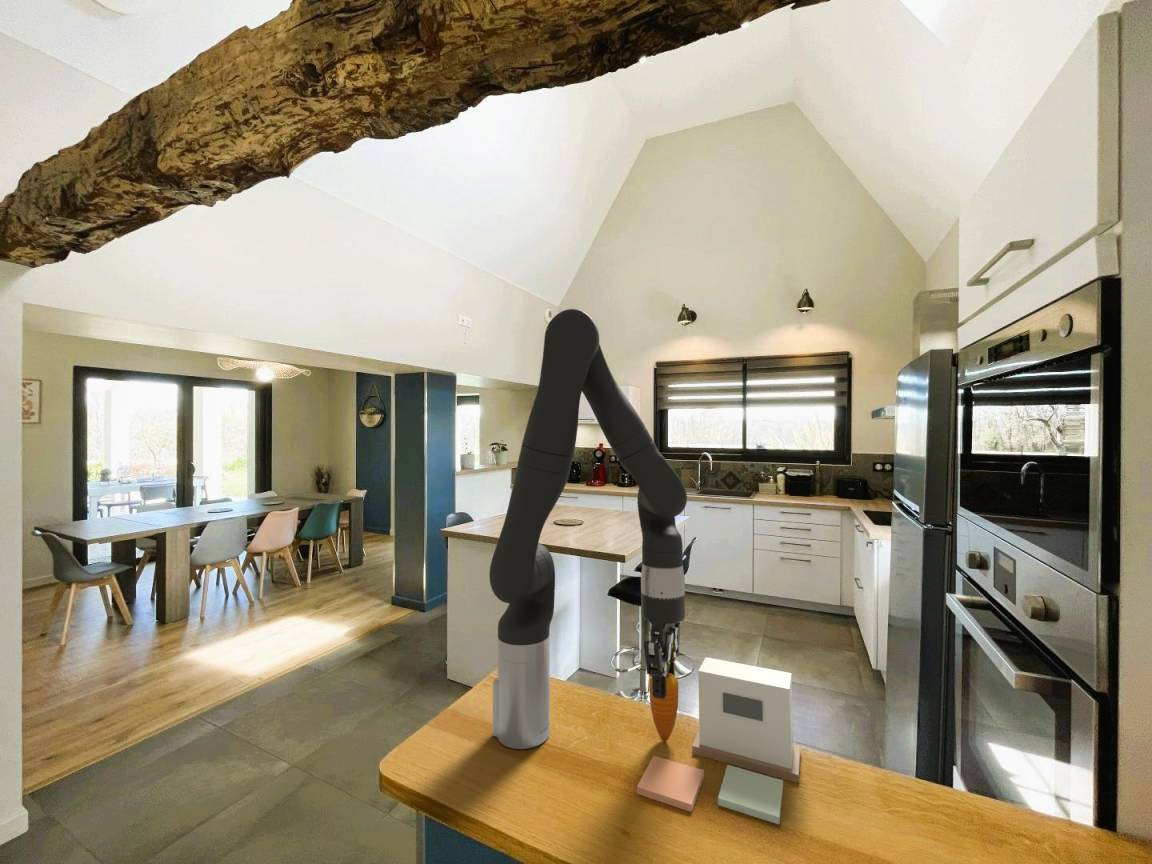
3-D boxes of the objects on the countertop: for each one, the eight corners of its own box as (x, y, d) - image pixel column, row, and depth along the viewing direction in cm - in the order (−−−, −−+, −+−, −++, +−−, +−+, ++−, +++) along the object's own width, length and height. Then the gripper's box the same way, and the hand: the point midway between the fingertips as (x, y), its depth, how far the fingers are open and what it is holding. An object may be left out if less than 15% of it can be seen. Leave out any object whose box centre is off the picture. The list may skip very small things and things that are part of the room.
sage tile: (717, 805, 67) (717, 797, 67) (727, 771, 74) (727, 764, 74) (779, 824, 64) (779, 817, 64) (783, 787, 71) (783, 780, 71)
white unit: (692, 753, 79) (691, 672, 79) (702, 728, 86) (701, 653, 87) (798, 783, 72) (796, 693, 72) (800, 753, 79) (798, 671, 79)
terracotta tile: (637, 793, 70) (636, 786, 70) (653, 762, 77) (653, 755, 77) (691, 812, 66) (691, 804, 66) (704, 777, 73) (704, 770, 73)
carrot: (679, 752, 79) (678, 660, 80) (649, 749, 80) (648, 658, 81) (679, 735, 84) (677, 648, 85) (650, 731, 85) (649, 646, 86)
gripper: (672, 604, 75) (674, 715, 74) (693, 582, 88) (695, 677, 87) (627, 598, 79) (628, 704, 78) (654, 578, 91) (655, 668, 90)
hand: (664, 689), depth 82 cm, fingers closed on carrot, 4 cm apart
